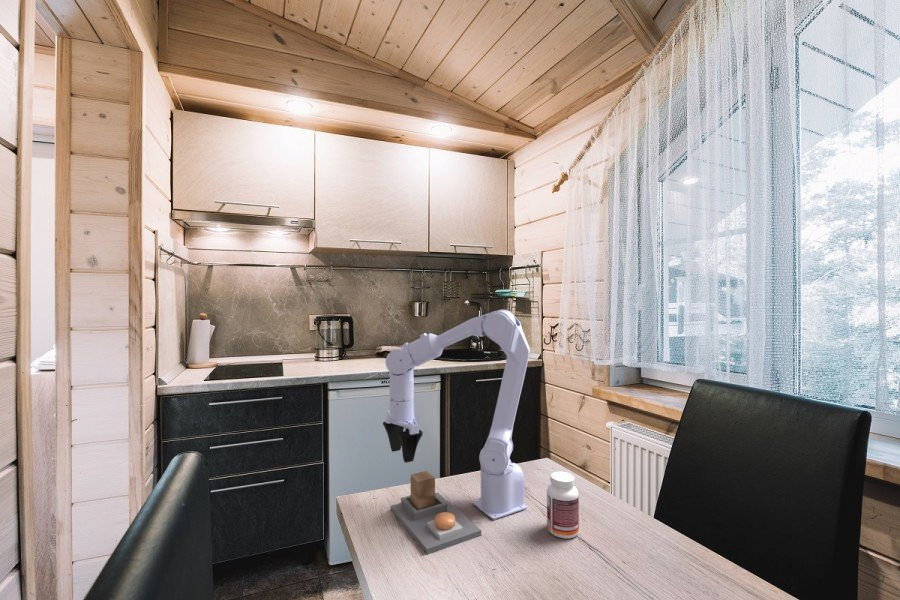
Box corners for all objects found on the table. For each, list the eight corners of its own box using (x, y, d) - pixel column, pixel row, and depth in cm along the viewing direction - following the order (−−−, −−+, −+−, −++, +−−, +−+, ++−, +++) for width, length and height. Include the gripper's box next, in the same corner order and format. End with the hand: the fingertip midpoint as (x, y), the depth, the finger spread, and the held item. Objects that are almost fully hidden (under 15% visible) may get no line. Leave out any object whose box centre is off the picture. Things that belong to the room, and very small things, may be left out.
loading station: (438, 496, 97) (438, 486, 97) (481, 535, 81) (481, 522, 81) (390, 510, 91) (390, 499, 91) (427, 554, 75) (426, 540, 75)
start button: (448, 516, 85) (448, 510, 85) (458, 525, 81) (458, 519, 81) (431, 521, 83) (431, 515, 83) (440, 531, 79) (440, 525, 79)
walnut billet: (426, 501, 93) (426, 470, 93) (435, 509, 89) (435, 477, 89) (410, 506, 91) (410, 474, 91) (418, 514, 87) (418, 481, 87)
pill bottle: (585, 533, 82) (585, 478, 82) (564, 543, 78) (564, 486, 78) (561, 519, 87) (561, 467, 87) (540, 528, 84) (540, 474, 84)
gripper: (375, 394, 102) (375, 449, 102) (398, 408, 89) (398, 470, 89) (401, 391, 105) (401, 443, 105) (427, 403, 93) (427, 463, 93)
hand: (402, 455), depth 98 cm, fingers open, 7 cm apart
